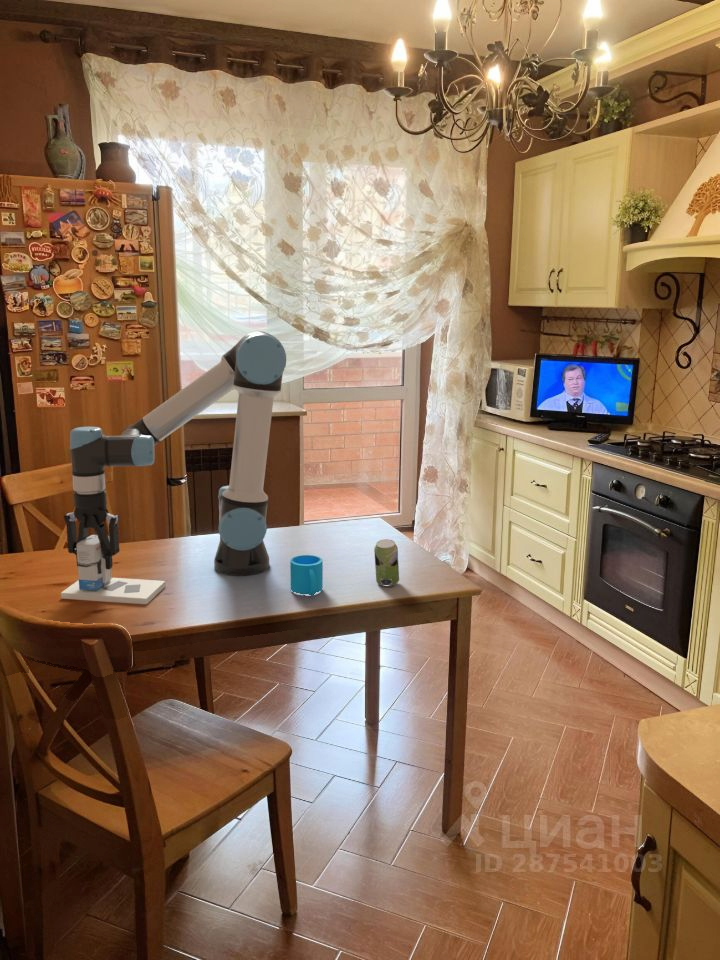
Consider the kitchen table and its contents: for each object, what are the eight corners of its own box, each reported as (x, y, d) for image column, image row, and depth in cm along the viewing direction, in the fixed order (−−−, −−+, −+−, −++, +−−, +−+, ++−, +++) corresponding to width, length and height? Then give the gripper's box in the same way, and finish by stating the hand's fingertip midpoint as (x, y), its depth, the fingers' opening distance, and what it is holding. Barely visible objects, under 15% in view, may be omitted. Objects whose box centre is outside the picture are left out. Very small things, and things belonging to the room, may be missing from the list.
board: (165, 586, 195) (165, 580, 195) (146, 604, 184) (146, 598, 183) (84, 581, 198) (84, 575, 198) (61, 598, 186) (60, 592, 186)
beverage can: (401, 581, 201) (403, 538, 198) (393, 591, 194) (395, 546, 192) (379, 578, 203) (380, 535, 200) (370, 588, 196) (371, 543, 194)
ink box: (96, 591, 187) (94, 545, 184) (78, 589, 187) (75, 544, 185) (112, 579, 195) (110, 535, 192) (94, 577, 195) (92, 534, 193)
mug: (287, 586, 197) (287, 556, 195) (318, 583, 199) (318, 553, 197) (297, 603, 186) (297, 572, 184) (330, 600, 188) (330, 569, 186)
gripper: (131, 488, 188) (136, 577, 193) (62, 485, 190) (69, 572, 196) (118, 496, 181) (123, 587, 186) (47, 492, 183) (54, 583, 188)
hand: (95, 580), depth 191 cm, fingers closed on ink box, 5 cm apart
